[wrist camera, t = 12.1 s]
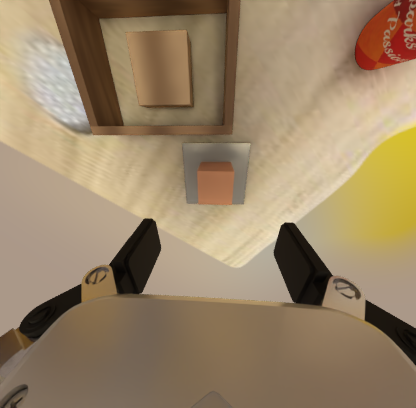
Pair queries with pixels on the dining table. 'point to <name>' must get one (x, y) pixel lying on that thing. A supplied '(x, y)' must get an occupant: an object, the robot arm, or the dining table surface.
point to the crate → (142, 61)
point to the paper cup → (388, 36)
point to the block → (215, 183)
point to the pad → (216, 153)
